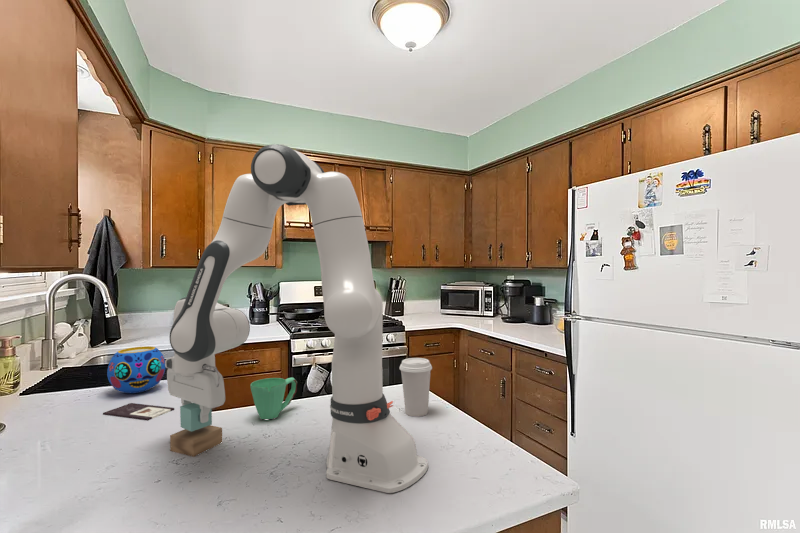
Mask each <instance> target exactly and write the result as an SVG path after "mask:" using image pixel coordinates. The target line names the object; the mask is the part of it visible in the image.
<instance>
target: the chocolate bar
mask: <svg viewBox="0 0 800 533" xmlns="http://www.w3.org/2000/svg"><path fill="white" fill-rule="evenodd" d="M174 410H175V407H170V406H163V405H162V406H160V405H154V404H153V405H152V404H151V405H150V404H143V403H135V402H131V403H127V404H124V405H121V406H119V407H115V408H113V409H110V410H107V411H103V412H102V415H104V416H110V417H111V416H112V417H119V418H125V419H133V420H134V419H135V420H141V421H150V420H153V419H155V418H157V417H160V416H162V415H165V414H167V413H169V412H172V411H174Z"/></svg>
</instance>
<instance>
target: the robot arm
mask: <svg viewBox="0 0 800 533" xmlns="http://www.w3.org/2000/svg"><path fill="white" fill-rule="evenodd" d="M283 205H287V206H304V205H306V206H307V208H308V210H309V213H310V217H311V224H312V228H313V232H314V233H313V234H314V238H315V243H316V247H317V248H316V249H317V253H318V258H319V263H320V264H319V265H320V276H321V279H320V280H321V290H322V292H321V293H322V299H323V309H324V311H323V312H324V313H323V314H324V315H323V316H324V321H325V323H326V326H327V327H328V329H329V331H331V332H332V333H333V334H334V339H333V340H334V341H333V351H332V357H331V387H332V388H331V391H332V395H331V397H330V405H329V409H330V416H331V417H332V419H331V420H332V422H331V432H330V440H329V441H330V442H329V449H328V453H327V457H326V462H325V464H326V465H325V466H326V467H327V469H326V473H325V477H326V479H327V480H331V481H335V482H338V483H343V484H347V485H352V486H357V487H361V488H365V489H369V490H373V491H377V492H381V493H387V494H393V493H397V492H400V491H403V490H405V489H407V488H409V487H410V486H413V484H415V483H416V482H418V481H419V480H420V479H421V478H422V477H423V476H424V475H425V474H426V472H427V470H428V468H429V463H428V459H427V458H424V457H423V456H421V455H418V452H417V451H418V450H417V446H416V441H415V439H414V436H413V435H412V434H411V433H409V432H408V430H406V428H405V427H404V426H403V425H402V424H401V423H400V422H399V421H398V420H397V419H396V418H395V417H394V416H393V415H392V414H391V411H390V408H392V407H394V404H393V403H394V400H391V401H390V402H387V398H386V396H385V393H384V391H383V390H384V389H383V388H384V387H383V333H384V332H383V328H384V327H383V324H384V323H383V321H384V318H383V317H384V316H383V315H384V314H383V312H384V311H383V305H384V304H383V299H382V296H381V294H380V292H379V291H378V290H377V289H376V287H375V280H374V275H373V269H372V268H373V267H372V261H371V260H372V259H371V253H370V252H371V251H370V247H369V242H368V237H367V233H366V227H365V222H364V218H363V213H362V209H361V204H360V201H359V200H358V196H357V193H356V190H355V188H354V186H353V183H352V180H351V179H350V178H349V176H347V174H344V173H342V172H339V171H327V172H325V171H324V169H323V168H322V166H320V165H319V164H318V163H317V162H315V160H312V159H310V157H308V156H307V155H305V154H304V153H302V152H300V151H299V150H295V149H293V148H291V147H290V146H287V145H283V144H275V143H272V144H267V145H265V146H263V147H261V148H259V149H258V151H256V153H255V154H254V155H253V157H252V160H251V164H250V173H245V174H241V175H239V176H238V177H237V178H236V179H235V181H234V183H233V185H232V187H231V189H230V192H229V195H228V197H227V200H226V204H225V207H224V210H223V214H222V219H221V222H220V225H219V228H218V230H217V233H216V235H215V236H214V238H213V239H212V241H211V243H209V244H208V245H207V246H206V248H205V249H204V251H203V252H202V255H201V257H200V259H199V261H198V264H197V267H196V269H195V273H194V275H193V277H192V280H191V283H190V285H189V289H188V292H187V294H186V296H185V297H182V298H179V300H178V301H176V303H175V306H174V311H173V318H172V320H173V322H172V326H171V329H170V331H169V345H170V346H171V349H172V350H173V356H171V357H168V358H166V359H165V367H166V368H165V369H167V370H166V382H167V390H168V393H169V395H170V396H172V397H175V398H178V399H180V403H181V406H183V405H187V404H190V403H195V404H198V405H200V409H201V412H200V415H198V421H199V422H201V423H205V422H207V421H208V420H209V412H210V410H211V409H216V408H219V407H220V406H221V407H222V406H223V405H224V404H225V402H226V390H225V382H224V377H223V375H222V374H221V373H220V371H219V370H218V368H217V366H216V357H215V356H216V354H219V353H222V352H225V351H228V350H232V349H235V348H237V347H239V346H241V345H244V344H245V342H246V341H247V339H248V338H249V335H250V332H251V331H250V330H251V328H250V325H251V324H250V322H249V319H248V318H249V317H247V315H246V314H245V313H244V312H243V311H242V310H239V309H237V308H232V307H228V306H226V305H224V304H221V303H219V302H218V300H219V298H220V295H221V292H222V289H223V286H224V284H225V282H226V280H227V279H228V277H229V276H230V275H231V274H233V272H235V271H236V270H238V269H239V268H241V267H242V266H244V265H246V264H248V263H250V262H253V261H255V260H257V259H258V258H260V257H261V256H262V255H263V254H264V253H265V252H266V250H267V249H268V246H269V245H270V244H269V243H270V241H271V239H272V238H271V237H272V233H273V228H274V224H275V219H276V215H277V212H278V210H279V209H280V208H281V206H283Z"/></svg>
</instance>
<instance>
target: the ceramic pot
mask: <svg viewBox="0 0 800 533" xmlns="http://www.w3.org/2000/svg"><path fill="white" fill-rule="evenodd" d="M165 360H166V359H165V356H164V354H163V353H162V351H161V350H160V349H158V348H157V347H155V346H149V345H148V346H135V347H128V348H123V349H120V350H118V351H117V352H115V353H114V354H113V355H112V356H111V358H110V361H109V363H108V366H107V370H106V371H107V372H106V375H107V380H108V382H109V384H110V385H111V386H112V388H113V389H115V390H117V391H118V392H120V393H124V394H125V393H126V394H138V393H143V392H145V391H146V392H147V391H148V390H150V389H152V388H154V387H156V386H157V385H159V383H160V382H161V380H162V379H163V376H164V375H165V374H166V373H165V372H166V369H167V368H166V367H165Z"/></svg>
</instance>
